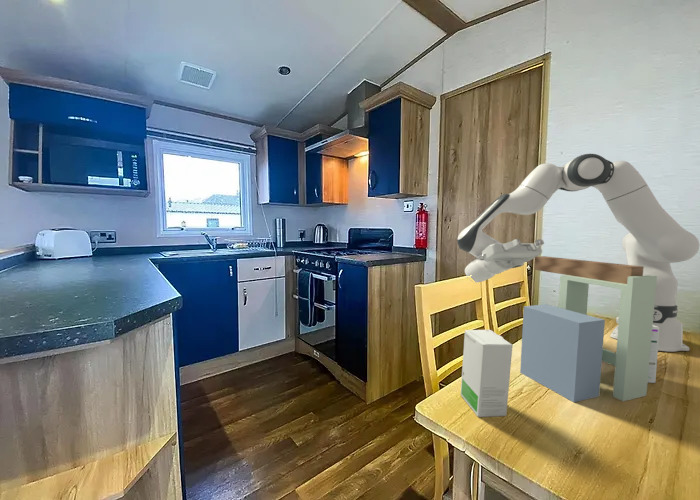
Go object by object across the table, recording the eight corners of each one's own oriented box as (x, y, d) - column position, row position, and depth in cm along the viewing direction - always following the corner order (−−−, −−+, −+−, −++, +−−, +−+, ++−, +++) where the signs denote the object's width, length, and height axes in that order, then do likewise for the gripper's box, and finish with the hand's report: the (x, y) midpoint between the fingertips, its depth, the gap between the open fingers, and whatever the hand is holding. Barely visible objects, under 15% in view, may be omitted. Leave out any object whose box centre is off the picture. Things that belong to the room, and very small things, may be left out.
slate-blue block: (520, 372, 79) (523, 306, 77) (542, 368, 81) (546, 304, 80) (573, 402, 65) (579, 322, 64) (599, 396, 68) (604, 319, 66)
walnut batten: (534, 269, 89) (535, 256, 88) (544, 269, 90) (545, 256, 90) (630, 284, 66) (631, 267, 66) (642, 283, 67) (643, 266, 67)
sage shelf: (554, 368, 81) (560, 267, 79) (575, 364, 83) (582, 266, 81) (623, 401, 66) (633, 277, 64) (646, 395, 68) (656, 275, 66)
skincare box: (459, 395, 68) (462, 329, 67) (487, 394, 68) (490, 328, 67) (478, 418, 59) (482, 343, 58) (509, 417, 60) (513, 342, 59)
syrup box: (656, 383, 74) (661, 327, 72) (629, 381, 75) (633, 325, 74) (639, 372, 79) (644, 320, 78) (613, 370, 80) (618, 318, 79)
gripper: (472, 251, 102) (500, 232, 91) (518, 250, 109) (550, 232, 97) (478, 268, 100) (507, 250, 88) (524, 266, 106) (558, 249, 94)
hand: (530, 241), depth 92 cm, fingers open, 8 cm apart
